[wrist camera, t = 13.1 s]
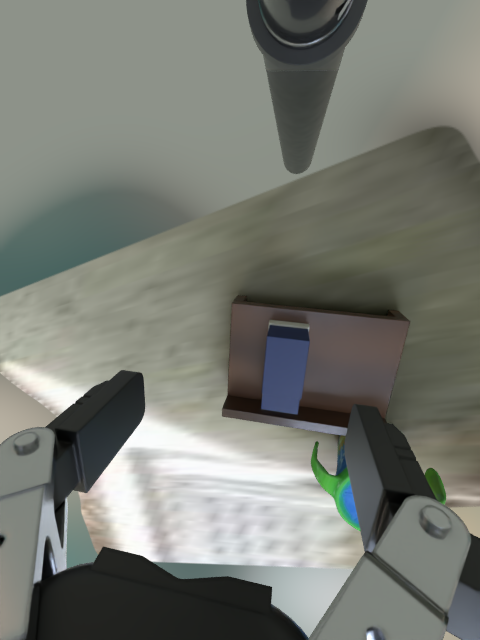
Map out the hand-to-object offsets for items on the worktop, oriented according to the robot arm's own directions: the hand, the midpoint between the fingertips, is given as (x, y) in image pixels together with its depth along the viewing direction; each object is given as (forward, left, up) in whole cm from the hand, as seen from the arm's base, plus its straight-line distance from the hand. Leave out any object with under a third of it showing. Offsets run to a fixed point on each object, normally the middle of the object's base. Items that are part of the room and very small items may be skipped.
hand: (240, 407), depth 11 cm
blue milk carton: (+10, +2, -24) cm, 26 cm away
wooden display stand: (+10, +5, -28) cm, 30 cm away
